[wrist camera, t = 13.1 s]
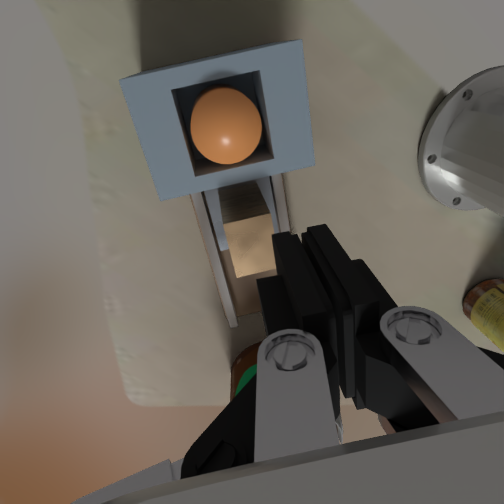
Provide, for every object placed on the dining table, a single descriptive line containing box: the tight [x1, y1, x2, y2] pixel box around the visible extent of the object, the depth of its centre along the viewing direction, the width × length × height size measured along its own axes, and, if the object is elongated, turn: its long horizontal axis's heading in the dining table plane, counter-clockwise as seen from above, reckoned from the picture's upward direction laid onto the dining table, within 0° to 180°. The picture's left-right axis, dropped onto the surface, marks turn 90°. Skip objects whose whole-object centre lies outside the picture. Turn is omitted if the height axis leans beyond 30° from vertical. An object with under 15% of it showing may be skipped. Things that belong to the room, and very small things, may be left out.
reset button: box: [191, 84, 262, 164], centre depth 22 cm, size 4×4×4 cm
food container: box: [230, 341, 343, 444], centre depth 38 cm, size 12×6×10 cm, turn 87°
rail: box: [189, 173, 291, 328], centre depth 33 cm, size 8×17×3 cm, turn 11°
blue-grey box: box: [119, 39, 315, 201], centre depth 25 cm, size 10×7×9 cm
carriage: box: [204, 176, 279, 278], centre depth 27 cm, size 5×6×9 cm
